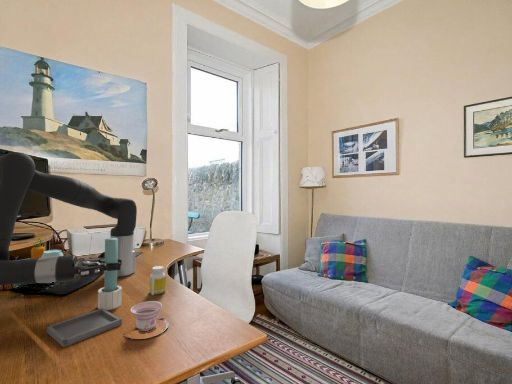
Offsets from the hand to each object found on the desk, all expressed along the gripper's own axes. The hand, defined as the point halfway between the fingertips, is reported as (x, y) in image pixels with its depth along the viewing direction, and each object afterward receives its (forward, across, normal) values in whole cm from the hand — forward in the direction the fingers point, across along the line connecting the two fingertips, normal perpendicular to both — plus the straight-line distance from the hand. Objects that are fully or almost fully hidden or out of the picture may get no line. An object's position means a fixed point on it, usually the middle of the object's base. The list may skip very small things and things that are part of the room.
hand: (120, 264), depth 89 cm
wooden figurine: (-30, +54, +14) cm, 63 cm away
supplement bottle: (+12, +7, +14) cm, 19 cm away
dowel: (-3, 0, +12) cm, 12 cm away
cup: (-3, 0, +14) cm, 14 cm away
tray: (-8, -14, +14) cm, 21 cm away
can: (-27, +34, +14) cm, 46 cm away
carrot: (-35, +48, +14) cm, 61 cm away
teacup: (+8, -18, +14) cm, 24 cm away
